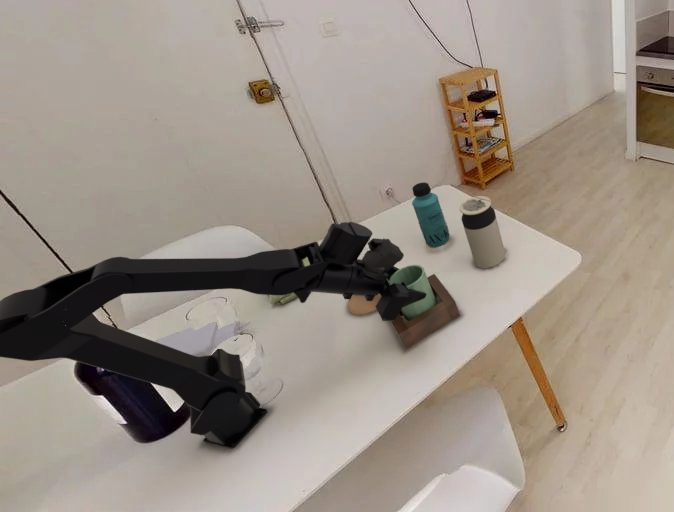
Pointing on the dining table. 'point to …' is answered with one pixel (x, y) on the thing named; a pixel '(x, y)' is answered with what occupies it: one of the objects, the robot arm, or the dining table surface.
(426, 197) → the beverage bottle
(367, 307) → the coaster
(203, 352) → the charger
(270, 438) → the dining table surface
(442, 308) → the cup holder
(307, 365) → the dining table surface
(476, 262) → the travel mug
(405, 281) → the cup
